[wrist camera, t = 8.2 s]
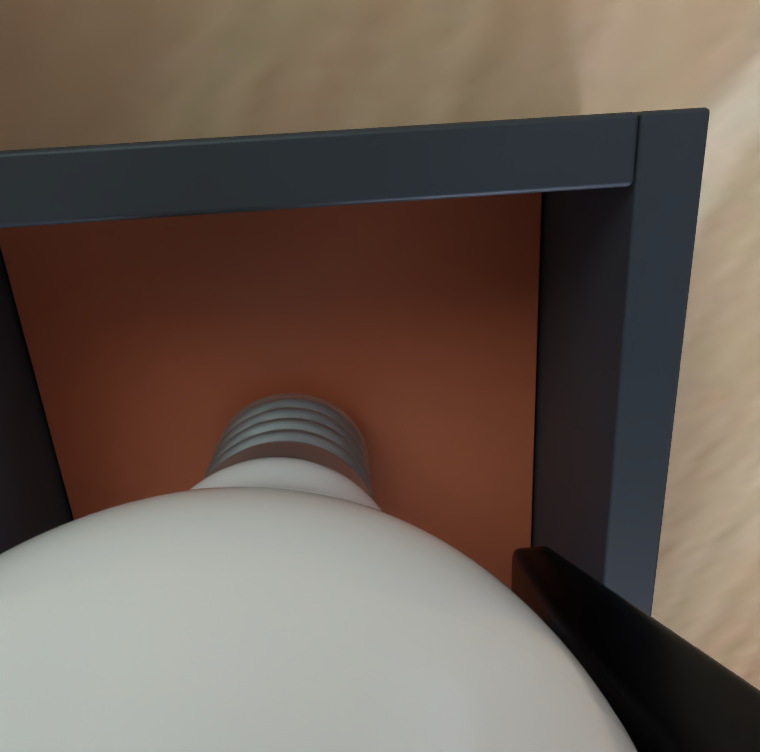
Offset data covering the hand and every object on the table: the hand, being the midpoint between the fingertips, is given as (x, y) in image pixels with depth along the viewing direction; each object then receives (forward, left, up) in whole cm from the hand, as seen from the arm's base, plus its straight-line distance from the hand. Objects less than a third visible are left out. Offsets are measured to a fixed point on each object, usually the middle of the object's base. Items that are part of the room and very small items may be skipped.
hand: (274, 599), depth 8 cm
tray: (0, -5, -5) cm, 7 cm away
